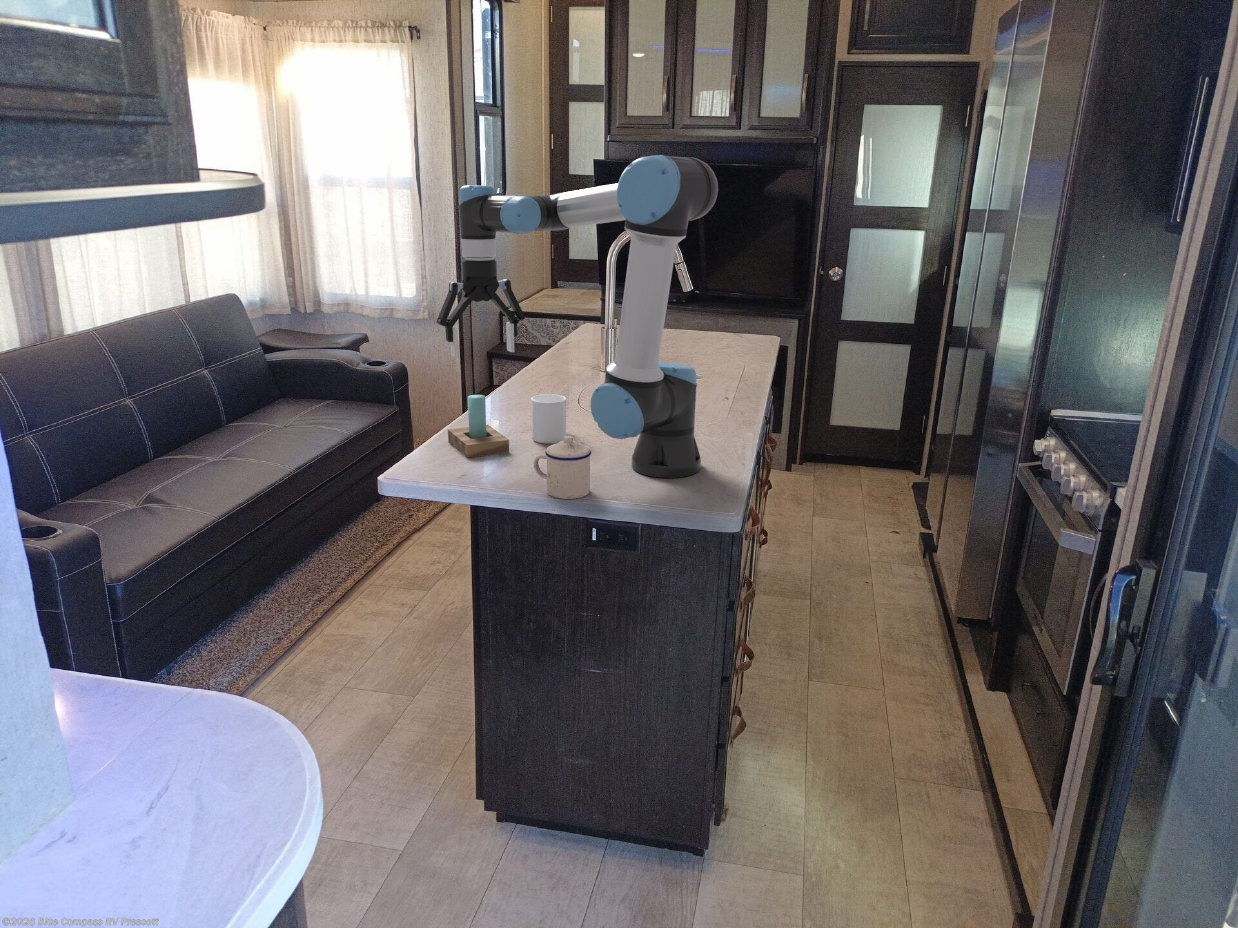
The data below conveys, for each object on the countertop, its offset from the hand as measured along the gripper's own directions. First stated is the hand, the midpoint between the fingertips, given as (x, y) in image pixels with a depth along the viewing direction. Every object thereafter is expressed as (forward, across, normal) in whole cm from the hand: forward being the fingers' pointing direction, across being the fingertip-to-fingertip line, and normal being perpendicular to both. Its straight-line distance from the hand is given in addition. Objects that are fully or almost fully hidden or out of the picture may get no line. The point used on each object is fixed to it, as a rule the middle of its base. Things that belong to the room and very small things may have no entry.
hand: (483, 353), depth 200 cm
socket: (+22, +2, +1) cm, 22 cm away
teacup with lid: (+22, -2, +37) cm, 43 cm away
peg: (+22, +2, +1) cm, 22 cm away
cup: (+22, -17, +1) cm, 28 cm away
